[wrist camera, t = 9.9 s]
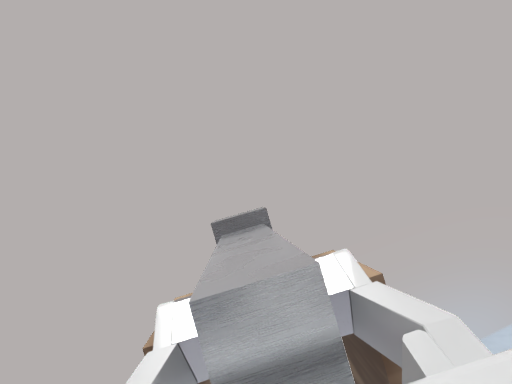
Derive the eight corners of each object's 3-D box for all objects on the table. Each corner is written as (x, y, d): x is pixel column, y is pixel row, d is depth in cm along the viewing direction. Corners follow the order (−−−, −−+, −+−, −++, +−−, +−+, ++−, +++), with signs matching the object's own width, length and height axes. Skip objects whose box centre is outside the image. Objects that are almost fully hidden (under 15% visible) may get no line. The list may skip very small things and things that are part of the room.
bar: (275, 254, 27) (261, 207, 27) (378, 386, 7) (328, 212, 7) (228, 268, 27) (214, 220, 27) (203, 445, 7) (152, 264, 7)
